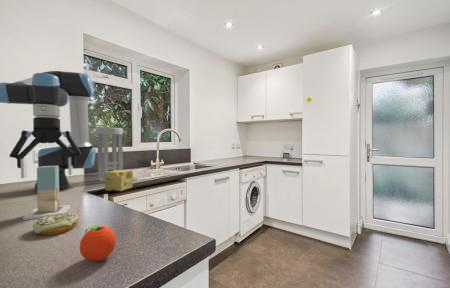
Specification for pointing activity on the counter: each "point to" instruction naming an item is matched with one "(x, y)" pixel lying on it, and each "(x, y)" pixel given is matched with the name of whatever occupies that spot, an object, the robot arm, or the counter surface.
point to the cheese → (118, 180)
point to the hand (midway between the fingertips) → (48, 176)
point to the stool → (104, 162)
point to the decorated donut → (55, 224)
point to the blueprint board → (46, 213)
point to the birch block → (48, 200)
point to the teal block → (47, 177)
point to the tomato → (97, 243)
